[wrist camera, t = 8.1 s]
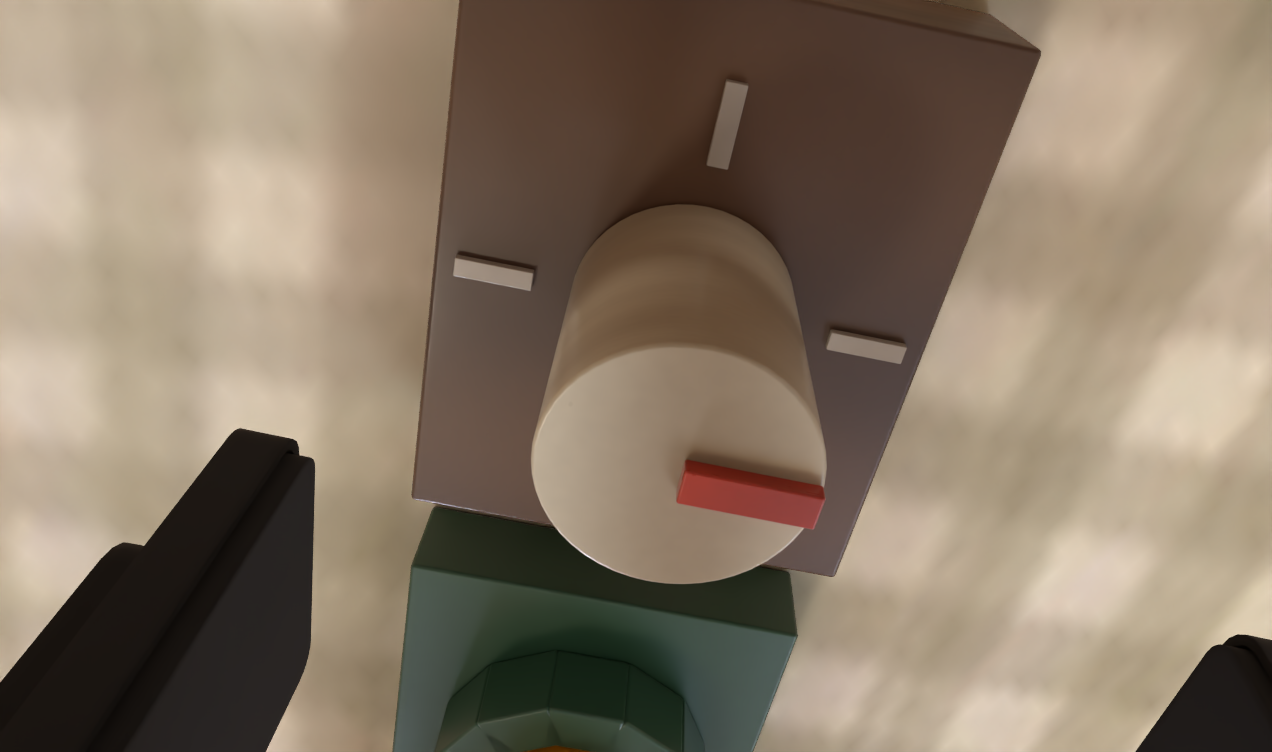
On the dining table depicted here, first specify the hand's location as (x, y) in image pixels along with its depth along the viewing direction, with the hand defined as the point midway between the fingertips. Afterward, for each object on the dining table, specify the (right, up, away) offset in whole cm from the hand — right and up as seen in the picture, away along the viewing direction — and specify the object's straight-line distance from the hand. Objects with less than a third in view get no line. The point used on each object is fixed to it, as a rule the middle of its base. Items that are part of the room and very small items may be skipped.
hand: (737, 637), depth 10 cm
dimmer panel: (0, +5, +10) cm, 11 cm away
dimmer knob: (0, +4, +7) cm, 8 cm away
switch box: (-3, -5, +16) cm, 18 cm away
